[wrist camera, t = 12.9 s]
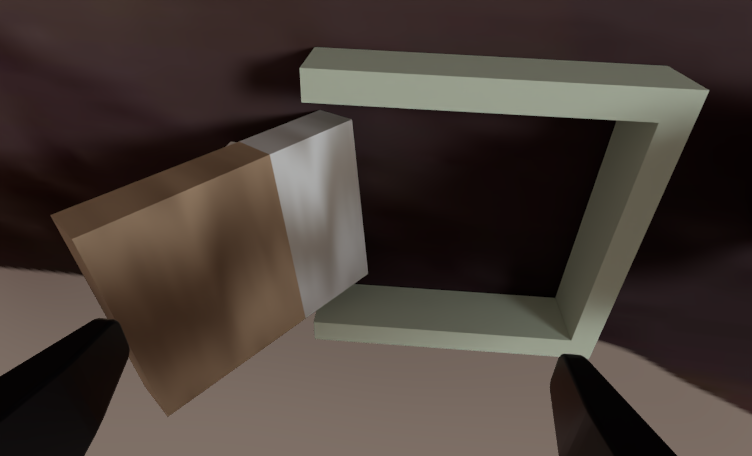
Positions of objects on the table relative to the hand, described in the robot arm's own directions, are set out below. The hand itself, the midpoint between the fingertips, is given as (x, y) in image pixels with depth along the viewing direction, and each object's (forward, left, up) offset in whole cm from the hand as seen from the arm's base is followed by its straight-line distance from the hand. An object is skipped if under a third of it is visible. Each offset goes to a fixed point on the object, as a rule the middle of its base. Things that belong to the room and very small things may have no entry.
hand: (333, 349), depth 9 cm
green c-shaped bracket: (+4, +4, -13) cm, 14 cm away
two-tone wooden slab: (+3, -1, -12) cm, 12 cm away
